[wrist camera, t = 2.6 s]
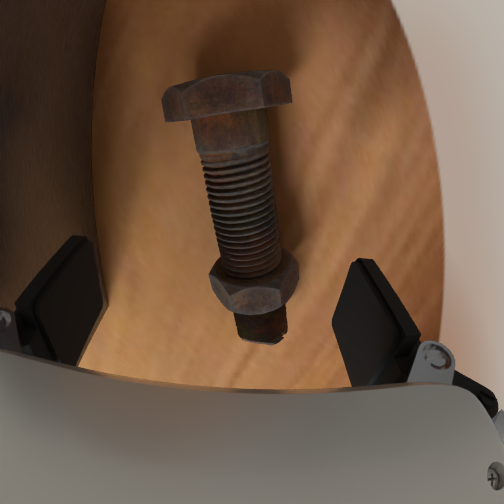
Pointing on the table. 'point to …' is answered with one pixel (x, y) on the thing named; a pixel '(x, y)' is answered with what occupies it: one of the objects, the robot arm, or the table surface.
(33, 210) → the frame
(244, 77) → the bolt
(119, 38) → the table surface
